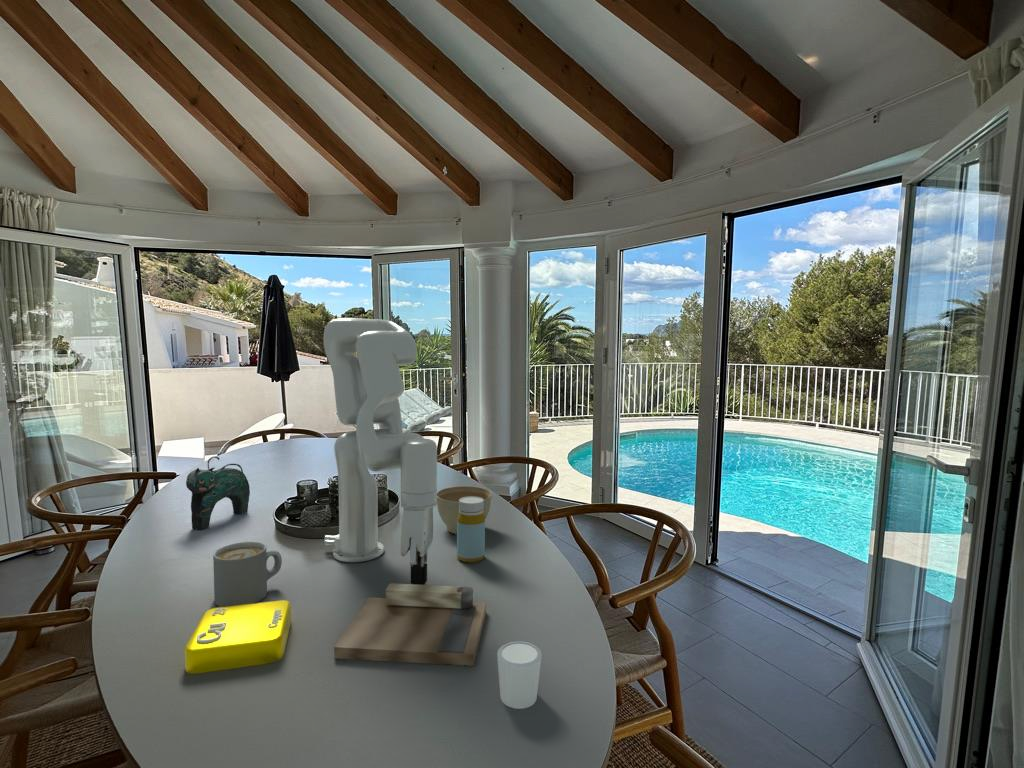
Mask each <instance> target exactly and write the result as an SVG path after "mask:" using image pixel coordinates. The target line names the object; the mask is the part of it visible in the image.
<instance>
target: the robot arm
mask: <svg viewBox="0 0 1024 768" xmlns="http://www.w3.org/2000/svg"><path fill="white" fill-rule="evenodd" d="M323 348H324V353H325V356H326V358H327V361H328V363H329V365H330V369H331V372H332V376H333V386H334V388H333V389H334V398H335V399H334V400H335V408H336V413H337V417H338V421H339V422H340V423H341V424H342V425H344V426H352V427H353V426H355V430H353V431H352V430H351V431H348V432H345V433H342V434H341V435H339V436H338V437H337V438H336V440H335V442H334V446H333V450H334V456H335V457H334V459H335V463H336V469H337V478H338V479H337V480H338V534H337V535H332V534H330V535H329V534H325V535H324V539H323V542H324V546H333V547H334V548H333V550H332V557H333V558H334V559H336V560H337V561H339V562H343V563H362V562H369V561H371V560H374V559H376V558H379V557H381V556H382V554H384V552H385V545H384V544H383V543H381V542H380V541H378V540H379V538H378V535H379V533H378V525H379V523H378V522H379V520H378V518H379V517H378V515H379V514H378V509H379V508H378V507H379V506H378V505H379V504H378V503H379V502H378V501H379V500H378V499H379V498H378V497H379V496H378V495H379V494H378V483H377V480H376V478H375V477H374V476H373V474H371V472H384V471H391V470H398V469H400V507H401V508H403V509H402V518H401V530H400V531H401V535H400V555H401V557H405V556H407V554H408V552H409V566H410V584H416V585H426V584H427V581H428V550H429V549H430V546H431V545H432V544H433V539H434V538H433V537H434V508H435V507H436V506H437V492H438V446H437V443H436V442H435V441H434V440H432V439H430V438H424V437H423V436H422V435H421V434H419V433H416V432H408V433H407V432H405V433H404V432H403V423H402V413H401V406H400V399H399V397H401V396H402V395H403V393H404V392H405V384H404V382H403V378H402V375H401V370H400V367H402V366H404V367H405V366H411V365H412V364H414V363H415V361H416V359H417V356H418V348H417V344H416V340H415V339H414V337H413V336H412V334H411V333H410V332H409V331H408V330H406V329H404V328H403V327H402V326H400V325H399V324H397V323H395V322H393V321H392V320H387V319H380V318H379V319H377V318H362V317H361V318H360V317H340V318H336V319H332V320H330V321H328V323H327V324H326V326H325V327H324V331H323ZM355 353H356V354H355ZM399 366H400V367H399ZM375 425H378V427H379V428H375ZM370 471H371V472H370Z"/></svg>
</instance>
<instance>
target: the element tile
mask: <svg viewBox="0 0 1024 768" xmlns="http://www.w3.org/2000/svg"><path fill="white" fill-rule="evenodd" d="M291 625H292V605H291V602H290V601H288V600H285V599H284V600H282V599H281V600H275V601H265V602H255V603H253V604H246V605H237V606H228V607H220V606H218V607H213V608H210V609H207V611H205V612H204V613H203V614H202V615H201V617H200V619H199V622H197V625H196V626H195V629H194V630H193V632H192V634H191V635H190V637H189V639H188V641H187V643H186V644H185V646H184V667H185V669H184V670H185V672H186V673H187V674H192V675H195V674H202V673H211V672H217V671H223V670H230V669H238V668H239V669H240V668H245V667H252V666H259V665H266V664H271V663H274V662H275V663H276V662H277V661H279V660H280V659H282V658H283V657H284V655H285V650H286V646H287V641H288V638H289V637H288V636H289V634H290V630H291Z"/></svg>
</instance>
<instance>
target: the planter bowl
mask: <svg viewBox="0 0 1024 768" xmlns="http://www.w3.org/2000/svg"><path fill="white" fill-rule="evenodd" d="M470 496H473V497H480V498H482V499H483V500H484V508H483V513H484V516H485V520H486V519H487V517H488V515H489V512H490V509H491V503H492V501H491V500H492V496H493V495H492V491H490V490H489V489H486V488H485V487H484V488H483V487H480V486H470V485H469V486H468V485H467V486H466V485H458V486H457V485H456V486H449V487H446V488H442V489H440V490H437V505H436V506H437V510H438V511H437V512H438V515H439V517H440V518H441V520H442V522H443V523H444V525H445V526H446V529H447V532H448V533H450V532H451V533H450V534H453V533H454V534H453V535H457V517H458V514H459V499H461V498H463V497H470Z"/></svg>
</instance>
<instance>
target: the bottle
mask: <svg viewBox="0 0 1024 768" xmlns="http://www.w3.org/2000/svg"><path fill="white" fill-rule="evenodd" d="M483 508H484V500H483V499H482V498H480V497H473V496H470V497H463V498H461V499H459V514H458V517H457V534H456V557H457V558H458V559H459V561H460V560H461V561H460V562H462V561H463V563H467V562H469V563H468V564H470V562H474V563H478V562H480V561H482V560H483V559H484V558H485V555H486V550H485V549H486V545H485V544H486V519H485V516H484V513H483Z"/></svg>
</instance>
